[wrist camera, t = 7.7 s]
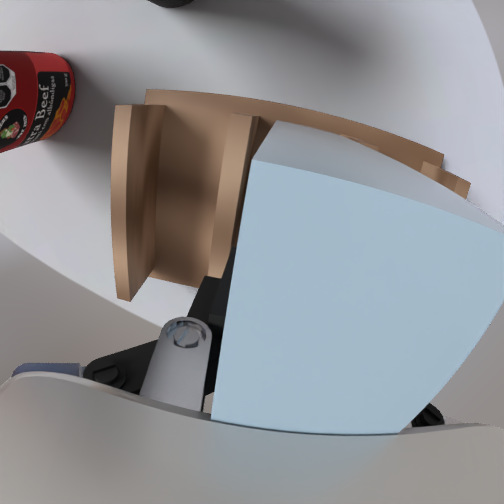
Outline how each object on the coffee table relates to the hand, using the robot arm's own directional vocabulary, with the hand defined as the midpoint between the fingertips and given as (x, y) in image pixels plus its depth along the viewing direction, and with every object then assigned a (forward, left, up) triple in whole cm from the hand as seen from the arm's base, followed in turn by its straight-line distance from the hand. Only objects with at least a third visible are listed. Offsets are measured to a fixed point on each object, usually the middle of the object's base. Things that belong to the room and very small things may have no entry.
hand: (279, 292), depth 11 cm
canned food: (-7, -21, -10) cm, 24 cm away
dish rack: (0, 0, -10) cm, 10 cm away
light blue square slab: (0, 0, -5) cm, 5 cm away
